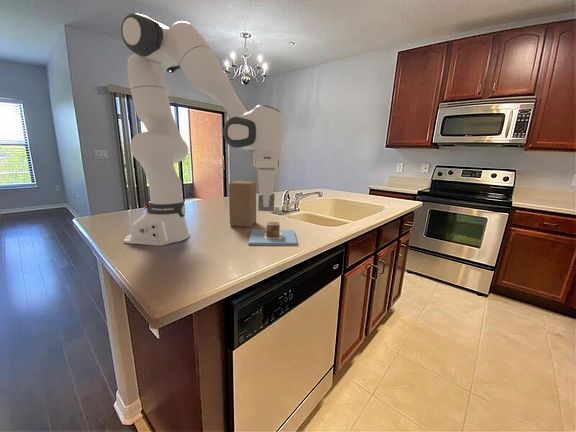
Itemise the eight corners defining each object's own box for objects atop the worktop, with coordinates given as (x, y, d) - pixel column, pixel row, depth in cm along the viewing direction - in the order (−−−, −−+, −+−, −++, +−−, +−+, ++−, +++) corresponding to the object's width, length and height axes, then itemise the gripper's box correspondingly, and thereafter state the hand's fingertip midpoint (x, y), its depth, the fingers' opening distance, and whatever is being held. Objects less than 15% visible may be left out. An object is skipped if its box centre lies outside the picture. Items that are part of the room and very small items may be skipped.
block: (249, 228, 114) (249, 183, 109) (229, 226, 116) (227, 182, 111) (256, 222, 124) (256, 181, 119) (237, 220, 126) (236, 180, 121)
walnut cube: (266, 237, 98) (266, 225, 97) (266, 233, 103) (266, 221, 102) (279, 237, 99) (279, 225, 98) (279, 233, 104) (279, 221, 102)
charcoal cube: (258, 210, 81) (258, 195, 79) (259, 207, 85) (259, 192, 84) (274, 211, 81) (274, 195, 80) (273, 208, 86) (274, 193, 85)
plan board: (248, 245, 93) (248, 242, 93) (252, 232, 109) (251, 229, 108) (297, 245, 94) (297, 242, 94) (293, 232, 110) (293, 229, 109)
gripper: (259, 159, 89) (258, 198, 93) (255, 161, 69) (254, 211, 73) (277, 160, 90) (275, 199, 93) (278, 162, 70) (276, 211, 73)
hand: (266, 204), depth 83 cm, fingers closed on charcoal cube, 5 cm apart
